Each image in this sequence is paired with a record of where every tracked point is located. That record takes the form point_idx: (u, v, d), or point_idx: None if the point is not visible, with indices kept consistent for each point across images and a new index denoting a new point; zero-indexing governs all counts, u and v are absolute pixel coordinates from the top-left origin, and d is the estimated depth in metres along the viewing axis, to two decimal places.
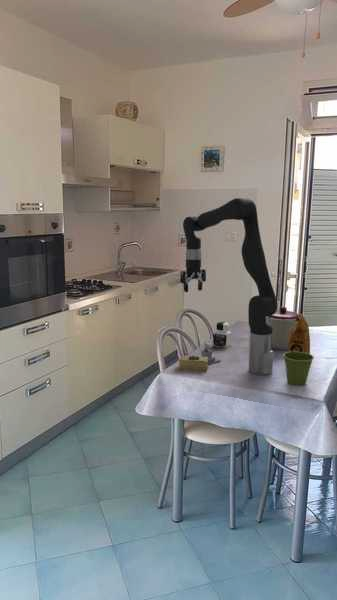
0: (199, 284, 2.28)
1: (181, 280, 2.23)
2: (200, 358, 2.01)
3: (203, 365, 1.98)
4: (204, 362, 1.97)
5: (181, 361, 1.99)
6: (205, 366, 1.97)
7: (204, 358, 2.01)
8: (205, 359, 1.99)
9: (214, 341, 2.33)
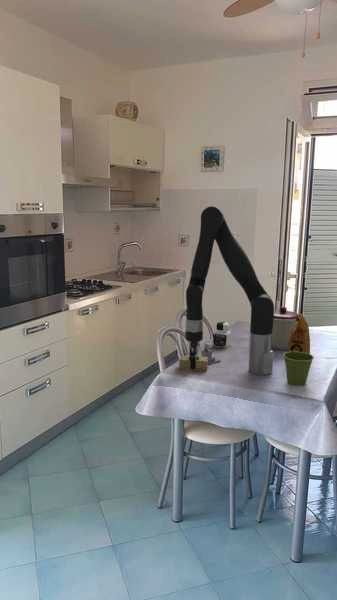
0: None
1: None
2: (200, 358, 2.01)
3: (203, 365, 1.98)
4: (204, 362, 1.97)
5: (181, 361, 1.99)
6: (205, 366, 1.97)
7: (204, 358, 2.01)
8: (205, 359, 1.99)
9: (214, 341, 2.33)
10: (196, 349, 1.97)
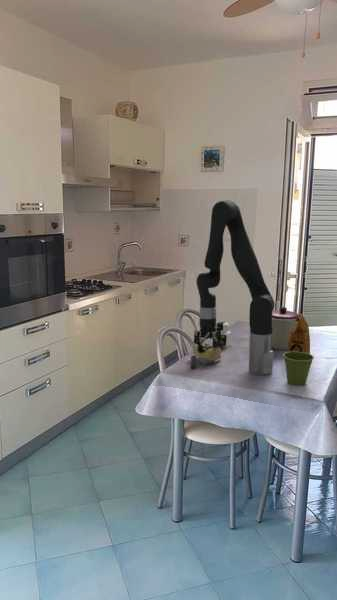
0: None
1: None
2: (211, 348, 2.08)
3: (208, 354, 2.05)
4: (209, 352, 2.04)
5: (194, 347, 2.12)
6: (209, 356, 2.04)
7: (214, 349, 2.07)
8: (213, 350, 2.06)
9: None
10: (205, 335, 2.06)
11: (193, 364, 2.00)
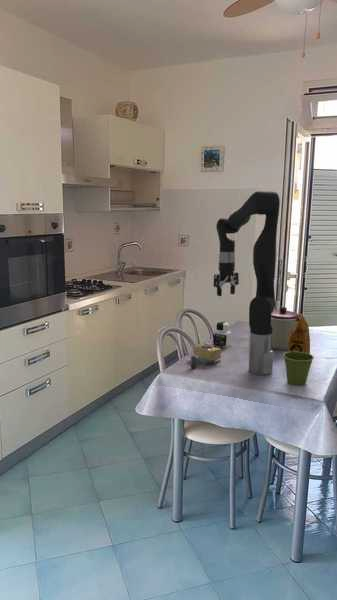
0: None
1: None
2: (211, 348, 2.08)
3: (208, 354, 2.05)
4: (209, 352, 2.04)
5: (194, 347, 2.12)
6: (209, 356, 2.04)
7: (214, 349, 2.07)
8: (213, 350, 2.06)
9: (214, 341, 2.33)
10: (224, 278, 2.17)
11: (193, 364, 2.00)
